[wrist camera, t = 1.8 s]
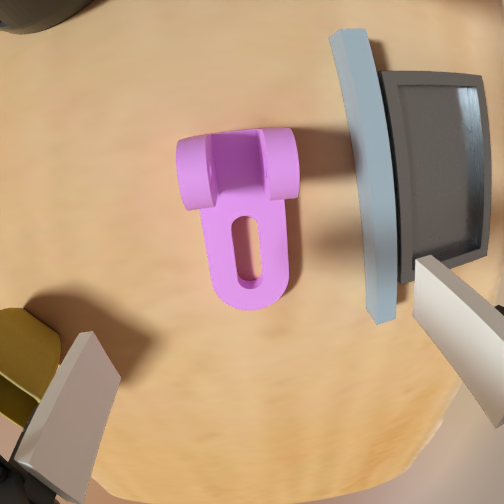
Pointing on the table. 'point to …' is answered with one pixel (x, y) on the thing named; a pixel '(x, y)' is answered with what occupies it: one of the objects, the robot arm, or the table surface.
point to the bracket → (242, 204)
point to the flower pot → (25, 363)
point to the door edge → (370, 168)
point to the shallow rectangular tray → (438, 166)
